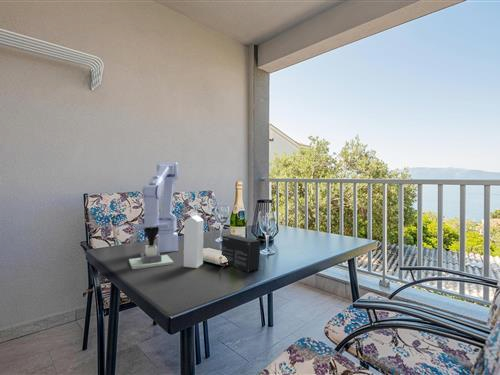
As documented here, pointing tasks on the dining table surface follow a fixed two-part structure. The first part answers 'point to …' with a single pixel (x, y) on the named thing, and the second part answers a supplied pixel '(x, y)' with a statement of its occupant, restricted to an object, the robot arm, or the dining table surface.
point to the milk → (193, 241)
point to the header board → (150, 261)
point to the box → (241, 252)
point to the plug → (150, 250)
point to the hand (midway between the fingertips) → (151, 245)
